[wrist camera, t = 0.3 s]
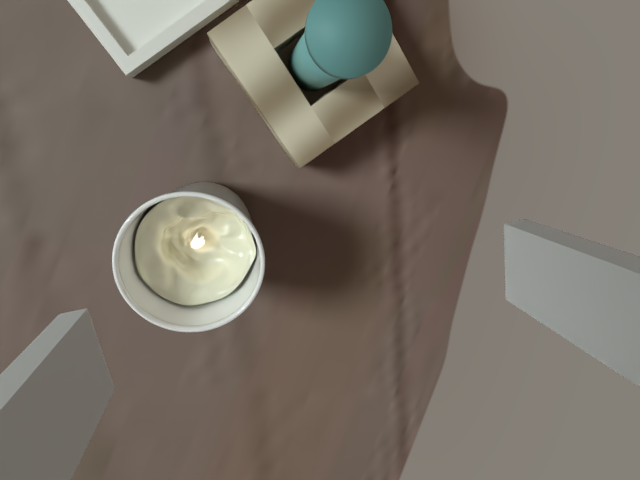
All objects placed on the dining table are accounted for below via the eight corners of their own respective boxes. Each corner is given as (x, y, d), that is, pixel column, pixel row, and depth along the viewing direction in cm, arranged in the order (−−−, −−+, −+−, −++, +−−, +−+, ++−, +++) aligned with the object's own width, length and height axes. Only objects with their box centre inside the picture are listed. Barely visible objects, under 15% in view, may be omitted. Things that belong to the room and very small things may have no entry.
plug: (272, 57, 35) (289, 15, 22) (318, 24, 35) (363, -38, 22) (304, 106, 37) (338, 94, 24) (348, 75, 37) (407, 45, 24)
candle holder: (246, 163, 38) (247, 178, 27) (268, 262, 41) (278, 314, 30) (137, 184, 37) (90, 209, 26) (167, 285, 40) (137, 348, 29)
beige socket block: (211, 45, 35) (206, 32, 31) (327, -38, 35) (340, -64, 31) (293, 163, 39) (300, 168, 34) (398, 88, 39) (419, 83, 34)
